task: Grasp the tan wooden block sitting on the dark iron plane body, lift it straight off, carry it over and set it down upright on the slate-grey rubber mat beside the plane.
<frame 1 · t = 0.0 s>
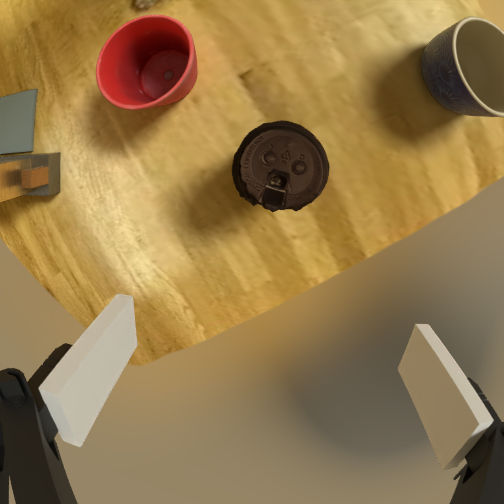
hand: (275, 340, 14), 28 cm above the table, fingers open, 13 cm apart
plane body: (13, 173, 39), on the table
tan wooden block: (19, 175, 36), point 3 cm above the table, touching plane body
coffee cup: (276, 161, 38), on the table
planter: (448, 77, 32), on the table
flower pot: (169, 76, 35), on the table
mat: (14, 122, 37), on the table
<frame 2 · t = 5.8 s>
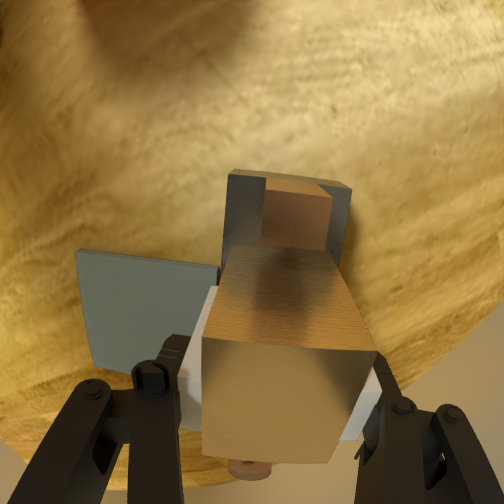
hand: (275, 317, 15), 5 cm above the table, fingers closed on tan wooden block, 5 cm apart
plane body: (265, 339, 21), on the table
tan wooden block: (274, 302, 17), point 3 cm above the table, touching gripper, plane body
mat: (146, 322, 21), on the table
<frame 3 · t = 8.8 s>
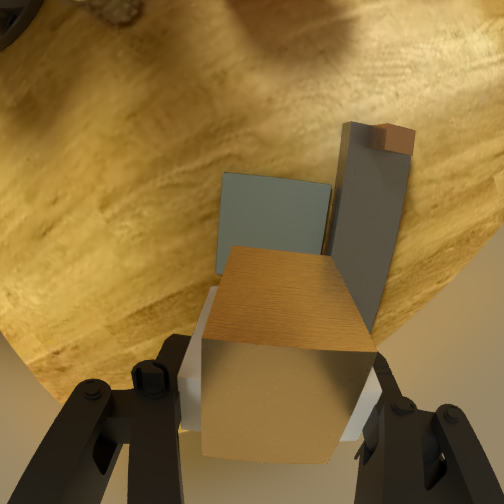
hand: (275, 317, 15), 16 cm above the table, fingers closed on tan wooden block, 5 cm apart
plane body: (355, 239, 30), on the table
tan wooden block: (274, 303, 17), point 15 cm above the table, touching gripper
mat: (271, 229, 30), on the table
when the fingers open (3 cm above the table, at t = 11.7 s): tan wooden block stays where it is, resting on mat.
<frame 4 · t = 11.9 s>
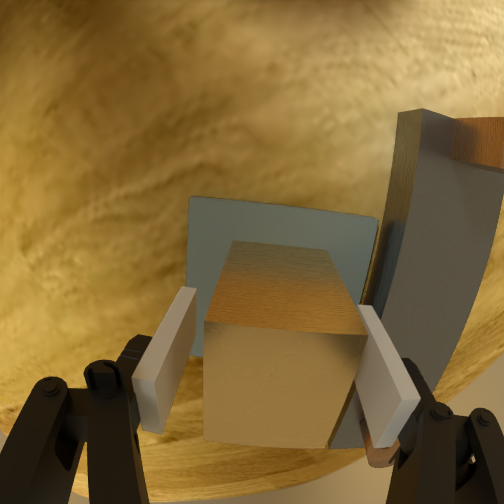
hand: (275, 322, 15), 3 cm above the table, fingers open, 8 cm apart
plane body: (406, 302, 18), on the table
tan wooden block: (273, 295, 18), point 1 cm above the table, touching mat
mat: (274, 291, 18), on the table
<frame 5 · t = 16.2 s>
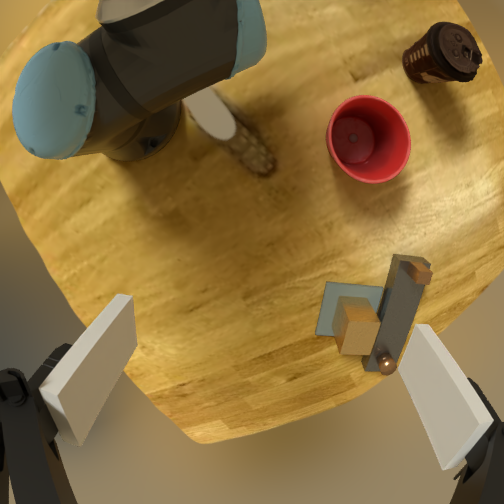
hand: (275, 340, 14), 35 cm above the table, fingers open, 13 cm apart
plane body: (392, 313, 52), on the table
tan wooden block: (349, 312, 51), point 1 cm above the table, touching mat
coffee cup: (418, 66, 38), on the table
flower pot: (351, 139, 43), on the table
mat: (348, 310, 52), on the table
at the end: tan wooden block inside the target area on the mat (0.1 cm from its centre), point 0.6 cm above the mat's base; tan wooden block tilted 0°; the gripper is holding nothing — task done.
